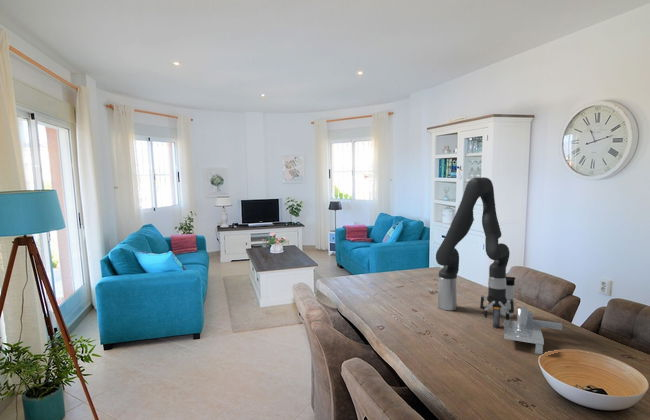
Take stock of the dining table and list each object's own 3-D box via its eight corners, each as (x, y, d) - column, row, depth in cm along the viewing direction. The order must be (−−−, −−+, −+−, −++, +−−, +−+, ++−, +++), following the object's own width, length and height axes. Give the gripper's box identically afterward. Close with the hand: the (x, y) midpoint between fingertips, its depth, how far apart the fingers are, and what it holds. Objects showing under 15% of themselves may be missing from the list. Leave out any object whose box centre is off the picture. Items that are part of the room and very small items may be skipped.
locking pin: (492, 327, 166) (492, 307, 165) (492, 324, 169) (492, 304, 168) (500, 328, 165) (500, 308, 164) (500, 325, 168) (500, 305, 167)
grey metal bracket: (504, 348, 146) (504, 316, 145) (503, 331, 161) (504, 302, 160) (567, 359, 137) (569, 324, 135) (560, 340, 151) (561, 309, 150)
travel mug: (516, 318, 175) (517, 279, 173) (501, 317, 177) (502, 279, 174) (512, 313, 181) (513, 275, 179) (498, 312, 183) (499, 275, 181)
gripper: (480, 286, 165) (479, 319, 166) (514, 290, 158) (513, 324, 160) (480, 282, 171) (480, 314, 173) (514, 285, 165) (513, 318, 167)
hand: (496, 319), depth 166 cm, fingers open, 8 cm apart
